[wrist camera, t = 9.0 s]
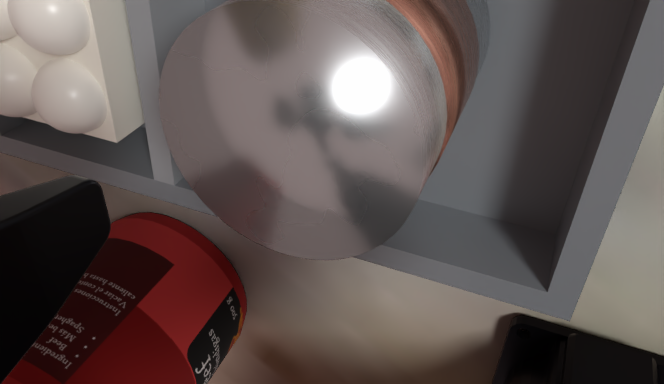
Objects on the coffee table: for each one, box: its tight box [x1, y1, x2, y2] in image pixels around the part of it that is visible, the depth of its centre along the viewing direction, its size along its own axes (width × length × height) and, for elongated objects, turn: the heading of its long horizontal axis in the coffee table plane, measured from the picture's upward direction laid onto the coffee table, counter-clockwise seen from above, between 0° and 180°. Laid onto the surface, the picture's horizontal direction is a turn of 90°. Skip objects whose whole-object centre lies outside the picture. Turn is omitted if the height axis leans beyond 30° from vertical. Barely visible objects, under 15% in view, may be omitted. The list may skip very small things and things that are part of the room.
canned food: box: [1, 213, 247, 384], centre depth 24 cm, size 8×8×11 cm
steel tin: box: [159, 0, 490, 260], centre depth 14 cm, size 6×6×7 cm
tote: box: [0, 0, 664, 321], centre depth 17 cm, size 13×21×4 cm, turn 88°
